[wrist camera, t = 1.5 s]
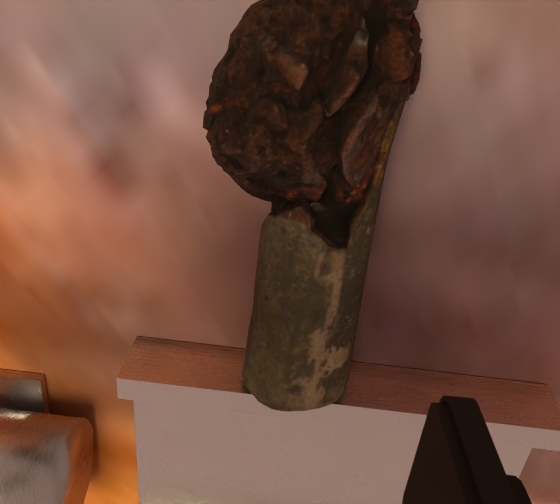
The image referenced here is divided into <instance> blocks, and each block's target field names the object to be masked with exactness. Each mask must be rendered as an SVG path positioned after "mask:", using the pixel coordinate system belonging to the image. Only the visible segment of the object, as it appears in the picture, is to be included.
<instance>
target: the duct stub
mask: <svg viewBox="0 0 560 504" xmlns="http://www.w3.org/2000/svg"><path fill="white" fill-rule="evenodd" d="M93 453H94V437H93V430H92V426H91V424H90V422H89V420H88V419H86V418H81V417H72V416H64V415H56V414H51V413H50V407H49V400H48V394H47V388H46V381H45V375H44V374H38V373H30V372H22V371H13V370H5V369H0V504H84V500H85V497H86V493H87V489H88V485H89V481H90V476H91V470H92V463H93Z"/></svg>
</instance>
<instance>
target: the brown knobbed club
mask: <svg viewBox="0 0 560 504" xmlns="http://www.w3.org/2000/svg"><path fill="white" fill-rule="evenodd" d="M418 1H419V0H260V1H258V2H256V3H254V4H252V5H251V6H250V7H249V8H248V10H247V11H246V12H245V14H244V15H243V17H242V19H241V20H240V22H239V24H238V25H237V27H236V28H235V29H234V31H233V32H232V33H231V34H230V40H229V46H228V50H227V52H226V54H225V55H224V57H223V58H222V60H221V61H220V62H219V63H218V65H217V66H216V68H215V69H214V72H213V75H212V80H213V81H212V82H211V84H210V87H209V97H208V99H207V101H206V105H207V110H206V111H205V113H204V118H203V128H204V129H206V130H208V133H207V135H206V139H207V140H208V142H209V143H210V146H211V151H212V156H213V157H214V159H215V161H216V163H217V164H218V165H219V166H221V167H222V169H223V171H225V172H226V173H228V174H229V175H230V176H231V177H232V179H233V180H234V181H235V182H236V183H237V184H238V185H239V186H240V187H241V188H242V189H243V190H245V191H246V192H247V193H249V194H250V195H252V196H254V197H257V198H259V199H262V200H265V201H270V202H272V209H271V213H270V214H269V215H268V216H267V218H266V219H265V221H264V223H263V225H262V228H261V235H260V243H259V252H258V261H257V270H256V279H255V289H254V304H253V312H252V316H251V321H250V326H249V332H248V339H247V346H246V353H245V360H244V366H243V372H242V377H243V381H244V384H245V386H246V387H247V389H248V390H249V391H250V393H251V394H252V395H253V396H254V397H255V398H256V399H257V400H258V402H260V403H262V404H263V405H265V406H267V407H269V408H271V409H274V410H279V411H287V412H291V411H306V410H312V409H318V408H322V407H326V406H328V405H331V404H332V403H333V402H335V401H336V400H337V399H339V397H340V396H341V395H342V394H343V393H344V391H345V387H346V384H347V381H348V380H349V369H350V363H351V357H352V351H353V345H354V339H355V332H356V327H357V322H358V317H359V311H360V305H361V299H362V293H363V287H364V281H365V275H366V270H367V264H368V258H369V252H370V246H371V241H372V236H373V230H374V225H375V220H376V215H377V210H378V205H379V200H380V194H381V188H382V183H383V179H384V174H385V169H386V164H387V160H388V155H389V152H390V149H391V145H392V142H393V139H394V136H395V133H396V130H397V127H398V123H399V120H400V117H401V113H402V110H403V107H404V104H405V101H407V100H408V99H409V95H411V94H413V93H414V92H415V90H416V86H417V84H418V81H419V76H420V68H421V54H420V52H419V50H420V46H421V43H422V39H421V38H420V30H421V29H420V26H419V23H418V21H417V20H416V18H415V15H414V13H413V11H414V10H416V8H417V5H418Z"/></svg>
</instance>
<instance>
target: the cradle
mask: <svg viewBox="0 0 560 504" xmlns="http://www.w3.org/2000/svg"><path fill="white" fill-rule="evenodd" d="M245 353H246V349H240V348H232V347H223V346H215V345H206V344H198V343H189V342H181V341H172V340H164V339H155V338H147V337H138V336H137V337H136V340H135V342H134V344H133V346H132V348H131V350H130V352H129V354H128V356H127V358H126V360H125V362H124V364H123V366H122V368H121V370H120V372H119V374H118V376H117V378H116V380H117V393H118V398H119V399H127V400H133V401H134V419H135V436H136V454H137V472H138V490H139V504H402V500H403V494H404V491H405V488H406V484H407V481H408V478H409V474H410V471H411V467H412V464H413V461H414V457H415V454H416V451H417V447H418V444H419V440H420V437H421V434H422V430H423V427H424V424H425V420H426V417H427V413H428V410H429V407H430V404H431V403H432V402H437V403H439V401H440V399H441V397H442V396H444V395H447V396H457V397H467V398H474V399H475V400H476V401H477V403H478V405H479V407H480V410H481V412H482V415H483V417H484V420H485V422H486V425H487V427H488V430H489V432H490V435H491V437H492V440H493V442H494V445H495V447H496V450H497V452H498V455H499V457H500V460H501V462H502V465H503V467H504V470H505V472H506V475H513V476H516V477H517V478H519V476H520V474H521V472H522V469H523V467H524V465H525V463H526V461H527V458H528V456H529V454H530V452H531V450H532V448H537V449H545V450H554V451H560V409H559V407H558V405H557V403H556V401H555V399H554V398H553V396H552V394H551V392H550V390H549V388H548V386H547V384H539V383H530V382H522V381H513V380H505V379H496V378H488V377H479V376H470V375H462V374H453V373H445V372H436V371H428V370H419V369H411V368H402V367H394V366H385V365H377V364H368V363H360V362H351V363H350V369H349V380H348V381H347V384H346V387H345V391H344V393H343V394H342V395H341V396H340V397H339V399H337V400H336V401H335V402H333V403H332V404H331V405H328V406H326V407H322V408H318V409H312V410H306V411H291V412H287V411H279V410H274V409H271V408H269V407H267V406H265V405H263V404H262V403H260V402H258V400H257V399H256V398H255V397H254V396H253V395H252V394H251V393H250V391H249V390H248V389H247V387H246V386H245V384H244V381H243V377H242V372H243V366H244V360H245Z"/></svg>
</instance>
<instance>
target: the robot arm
mask: <svg viewBox="0 0 560 504" xmlns="http://www.w3.org/2000/svg"><path fill="white" fill-rule="evenodd" d="M402 504H532V503H531V501H530V498H529V496H528V494H527V491H526V489H525V487H524V485H523V484H522V482H521V480H519V479H518V478H517V477H516V476H513V475H506V472H505V470H504V467H503V465H502V462H501V460H500V457H499V455H498V452H497V450H496V447H495V445H494V442H493V440H492V437H491V435H490V432H489V430H488V427H487V425H486V422H485V420H484V417H483V415H482V412H481V410H480V407H479V405H478V403H477V401H476V400H475V399H474V398H467V397H457V396H447V395H444V396H442V397H441V399H440V401H439V403H437V402H432V403H431V404H430V407H429V410H428V413H427V417H426V420H425V424H424V427H423V430H422V434H421V437H420V440H419V444H418V447H417V451H416V454H415V457H414V461H413V464H412V467H411V471H410V474H409V478H408V481H407V484H406V488H405V491H404V494H403V500H402Z"/></svg>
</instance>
